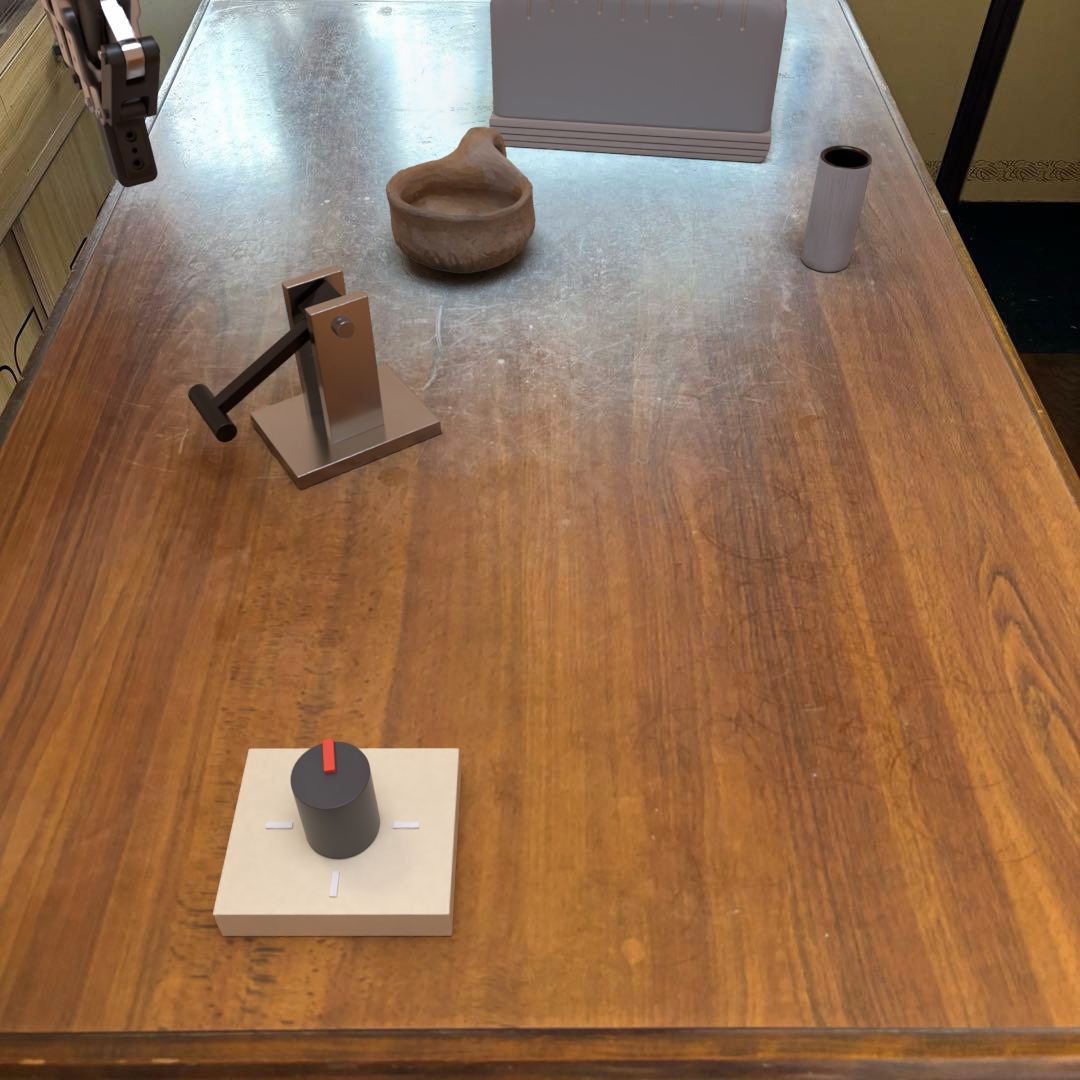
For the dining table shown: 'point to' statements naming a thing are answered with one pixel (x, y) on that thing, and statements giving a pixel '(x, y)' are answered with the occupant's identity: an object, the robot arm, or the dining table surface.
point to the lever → (254, 372)
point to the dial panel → (353, 883)
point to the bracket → (339, 391)
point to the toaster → (637, 75)
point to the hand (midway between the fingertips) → (136, 179)
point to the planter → (835, 207)
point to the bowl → (463, 207)
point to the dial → (336, 799)
